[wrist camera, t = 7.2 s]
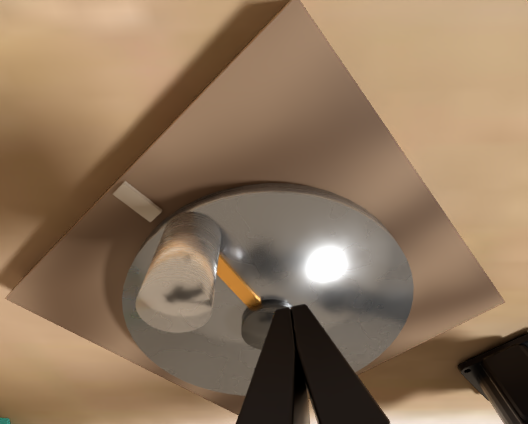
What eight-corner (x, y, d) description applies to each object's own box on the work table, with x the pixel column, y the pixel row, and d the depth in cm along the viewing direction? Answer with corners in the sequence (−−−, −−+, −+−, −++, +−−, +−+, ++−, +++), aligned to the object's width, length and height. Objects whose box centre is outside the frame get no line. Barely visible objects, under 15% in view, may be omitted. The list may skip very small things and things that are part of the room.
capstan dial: (436, 327, 19) (491, 416, 15) (232, 404, 22) (229, 493, 18) (334, 111, 12) (383, 161, 8) (60, 273, 15) (-12, 369, 11)
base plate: (488, 284, 20) (507, 304, 18) (256, 404, 26) (257, 427, 25) (291, -2, 11) (297, -6, 10) (22, 278, 18) (2, 301, 16)
